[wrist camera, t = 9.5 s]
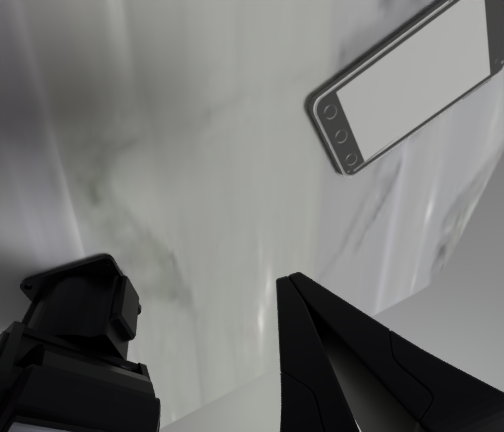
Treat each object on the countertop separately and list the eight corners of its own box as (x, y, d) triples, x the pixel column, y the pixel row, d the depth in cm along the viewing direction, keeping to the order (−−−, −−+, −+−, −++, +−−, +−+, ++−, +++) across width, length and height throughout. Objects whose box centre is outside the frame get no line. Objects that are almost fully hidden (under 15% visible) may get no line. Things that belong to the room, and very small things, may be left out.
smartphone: (309, 104, 20) (503, -41, 18) (302, 101, 20) (487, -37, 19) (346, 181, 24) (508, 67, 22) (339, 177, 24) (494, 66, 23)
